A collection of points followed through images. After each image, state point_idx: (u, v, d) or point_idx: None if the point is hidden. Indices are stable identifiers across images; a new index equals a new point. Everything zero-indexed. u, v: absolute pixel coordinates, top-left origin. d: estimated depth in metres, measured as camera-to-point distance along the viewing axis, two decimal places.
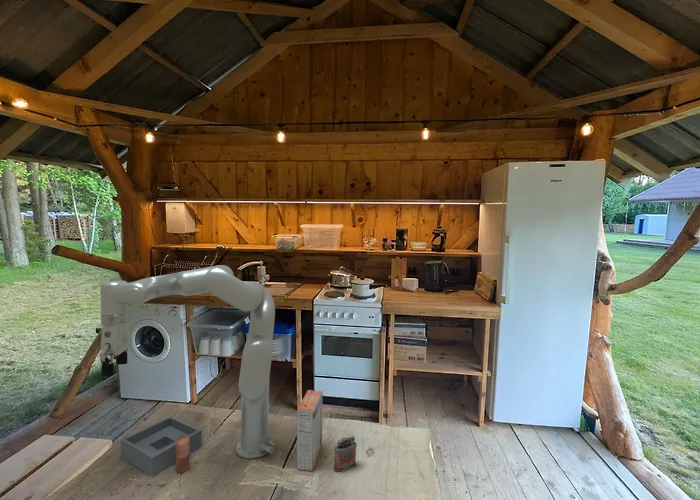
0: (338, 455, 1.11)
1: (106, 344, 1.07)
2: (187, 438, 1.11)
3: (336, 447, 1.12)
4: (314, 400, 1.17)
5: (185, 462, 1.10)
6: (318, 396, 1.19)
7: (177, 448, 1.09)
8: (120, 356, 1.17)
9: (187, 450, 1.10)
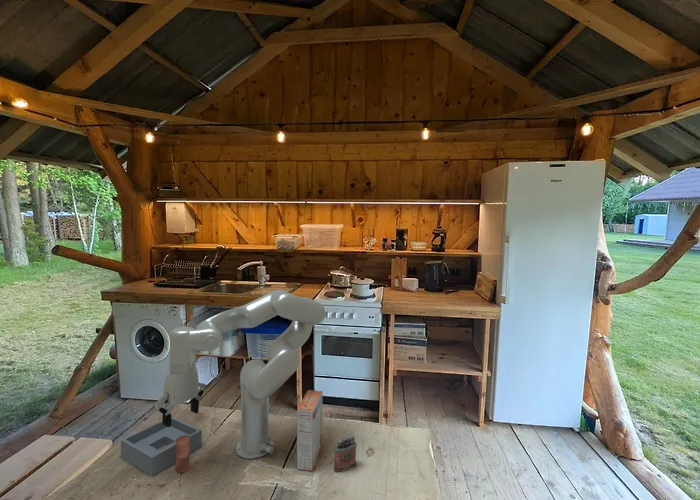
0: (338, 455, 1.11)
1: None
2: (187, 438, 1.11)
3: (336, 447, 1.12)
4: (314, 400, 1.17)
5: (185, 462, 1.10)
6: (318, 396, 1.19)
7: (177, 448, 1.09)
8: None
9: (187, 450, 1.10)
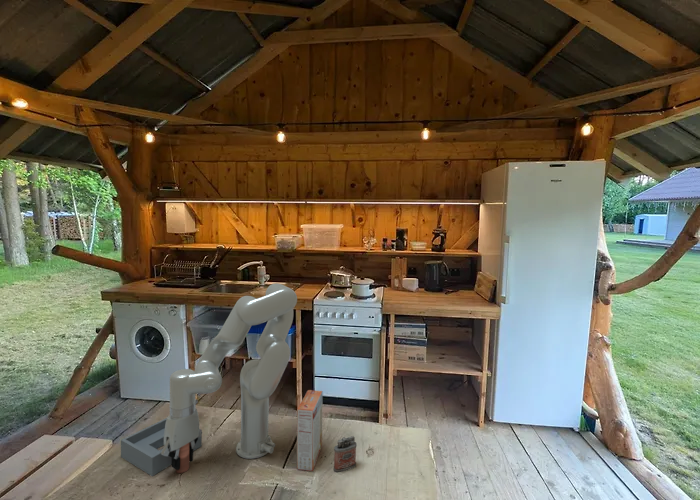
0: (338, 455, 1.11)
1: None
2: None
3: (336, 447, 1.12)
4: (314, 400, 1.17)
5: (185, 462, 1.10)
6: (318, 396, 1.19)
7: None
8: None
9: (187, 450, 1.10)
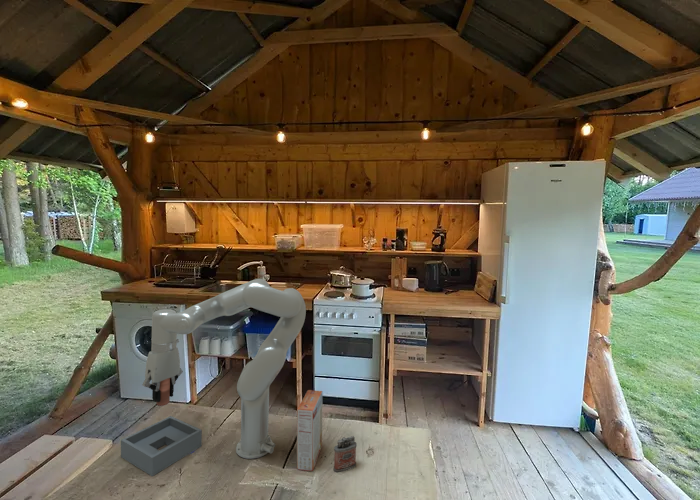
0: (338, 455, 1.11)
1: None
2: None
3: (336, 447, 1.12)
4: (314, 400, 1.17)
5: (165, 396, 1.16)
6: (318, 396, 1.19)
7: None
8: None
9: (167, 385, 1.17)
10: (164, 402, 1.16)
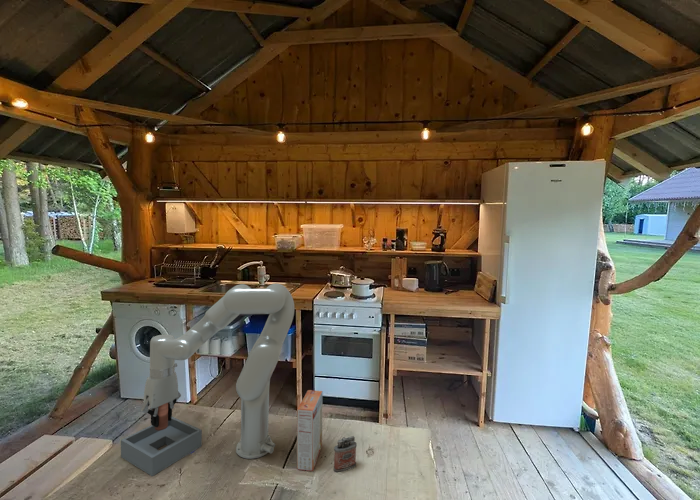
0: (338, 455, 1.11)
1: None
2: None
3: (336, 447, 1.12)
4: (314, 400, 1.17)
5: (164, 420, 1.18)
6: (318, 396, 1.19)
7: None
8: None
9: (166, 409, 1.18)
10: (162, 427, 1.18)
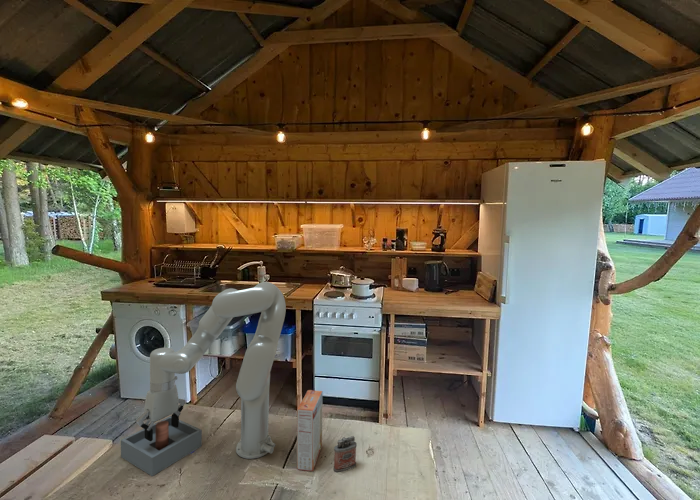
0: (338, 455, 1.11)
1: None
2: (166, 423, 1.19)
3: (336, 447, 1.12)
4: (314, 400, 1.17)
5: (164, 445, 1.18)
6: (318, 396, 1.19)
7: (156, 432, 1.17)
8: None
9: (166, 434, 1.19)
10: None
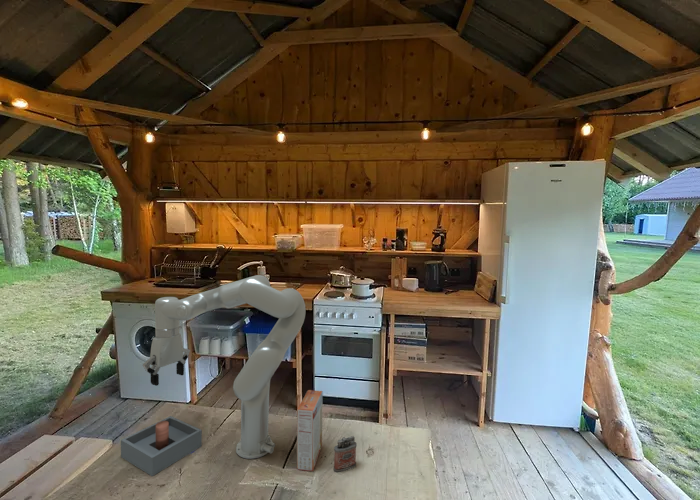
0: (338, 455, 1.11)
1: None
2: (166, 423, 1.19)
3: (336, 447, 1.12)
4: (314, 400, 1.17)
5: (164, 445, 1.18)
6: (318, 396, 1.19)
7: (157, 432, 1.17)
8: None
9: (166, 434, 1.19)
10: None
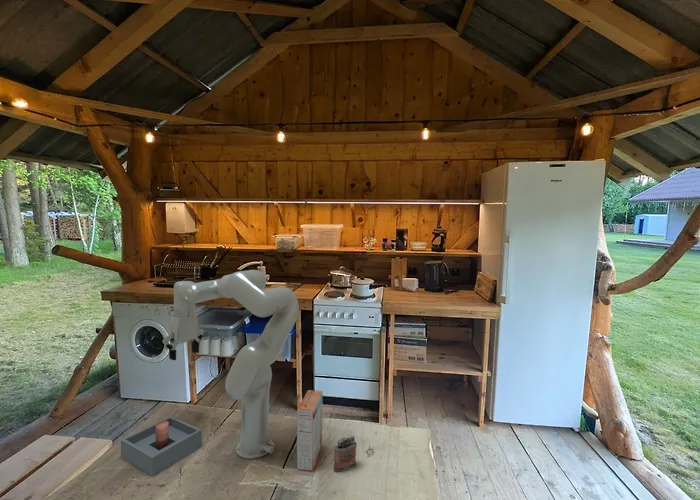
0: (338, 455, 1.11)
1: None
2: (166, 423, 1.19)
3: (336, 447, 1.12)
4: (314, 400, 1.17)
5: (164, 445, 1.18)
6: (318, 396, 1.19)
7: (157, 432, 1.17)
8: None
9: (166, 434, 1.19)
10: None
